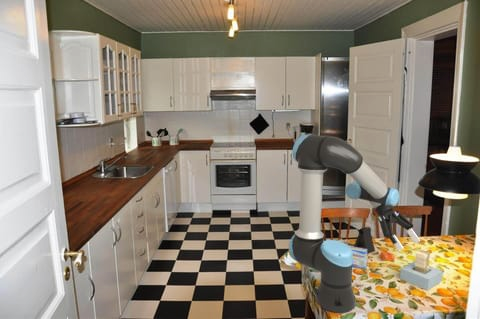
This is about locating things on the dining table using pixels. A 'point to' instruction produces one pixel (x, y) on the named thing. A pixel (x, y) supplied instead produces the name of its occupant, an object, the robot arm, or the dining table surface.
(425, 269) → the peg
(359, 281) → the dining table surface
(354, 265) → the medicine box
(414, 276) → the socket block
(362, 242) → the black jug
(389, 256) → the rock
